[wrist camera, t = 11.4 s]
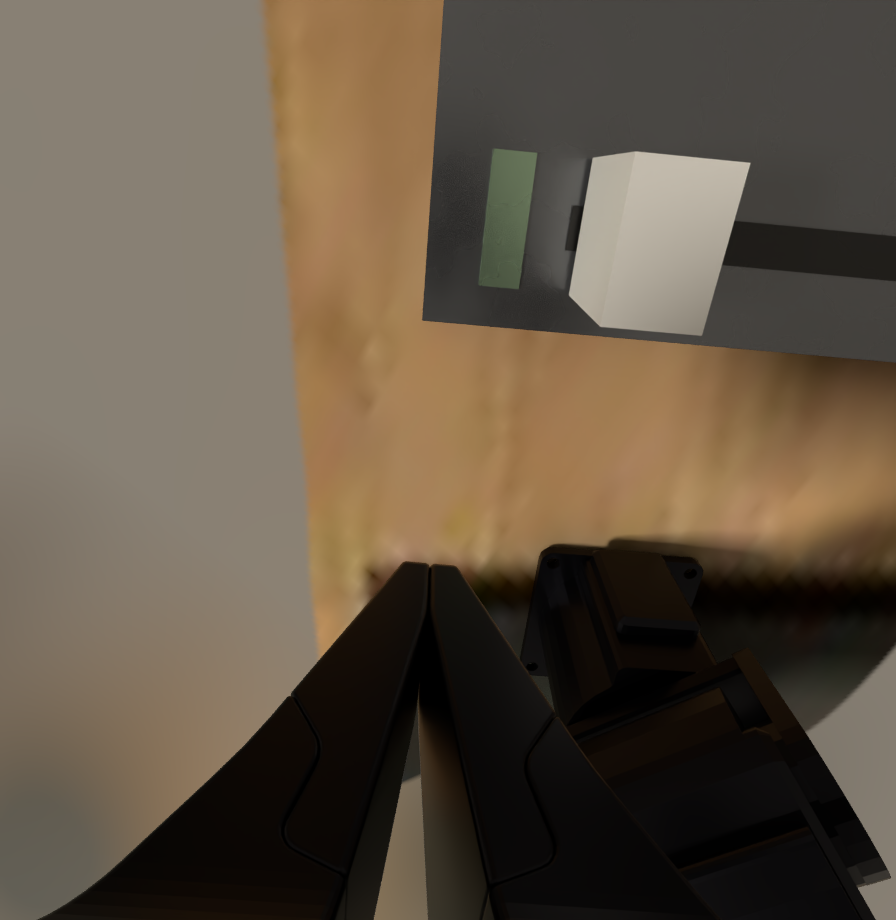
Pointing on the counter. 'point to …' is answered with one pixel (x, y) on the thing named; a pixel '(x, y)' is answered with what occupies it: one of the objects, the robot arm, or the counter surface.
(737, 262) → the dark grey flat plate
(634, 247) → the block
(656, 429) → the counter surface
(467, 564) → the counter surface
